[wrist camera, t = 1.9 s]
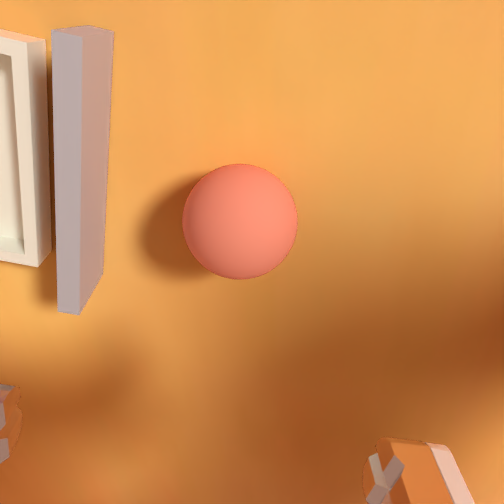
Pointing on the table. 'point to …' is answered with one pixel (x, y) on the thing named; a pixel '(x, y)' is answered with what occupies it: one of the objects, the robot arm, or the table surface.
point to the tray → (24, 150)
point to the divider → (80, 158)
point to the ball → (239, 221)
